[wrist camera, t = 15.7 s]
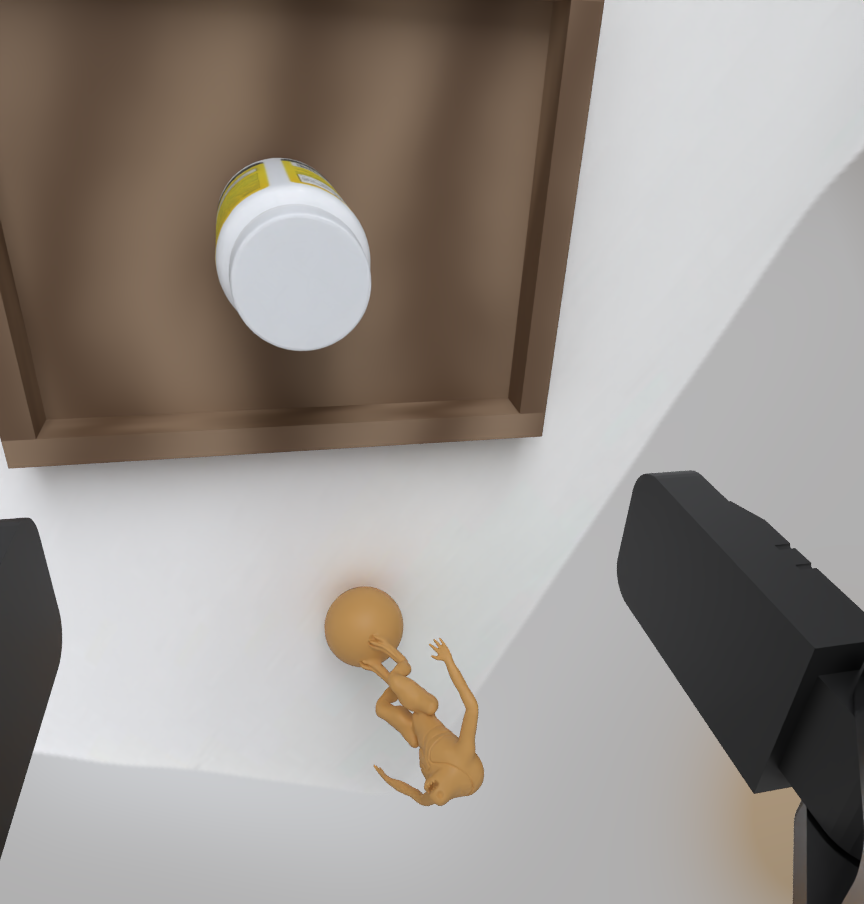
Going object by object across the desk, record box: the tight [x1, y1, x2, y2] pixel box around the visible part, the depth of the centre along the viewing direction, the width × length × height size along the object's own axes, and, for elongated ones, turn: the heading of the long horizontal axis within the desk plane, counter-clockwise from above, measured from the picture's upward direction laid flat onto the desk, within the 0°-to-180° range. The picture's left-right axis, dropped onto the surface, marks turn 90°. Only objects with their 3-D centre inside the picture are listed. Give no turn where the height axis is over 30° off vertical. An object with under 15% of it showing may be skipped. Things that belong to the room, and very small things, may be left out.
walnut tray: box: [0, 0, 604, 468], centre depth 27 cm, size 22×18×2 cm
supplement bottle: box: [215, 158, 371, 351], centre depth 24 cm, size 5×5×8 cm
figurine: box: [325, 587, 484, 806], centre depth 34 cm, size 8×6×12 cm
